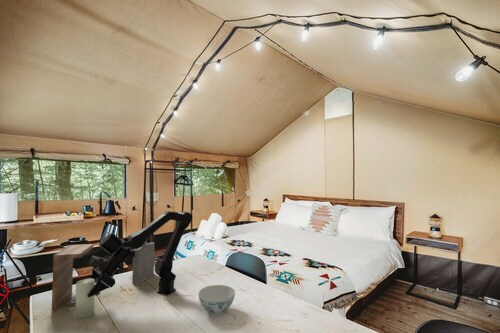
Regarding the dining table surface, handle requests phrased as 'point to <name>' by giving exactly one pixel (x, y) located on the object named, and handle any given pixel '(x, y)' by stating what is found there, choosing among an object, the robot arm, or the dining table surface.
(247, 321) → the dining table surface
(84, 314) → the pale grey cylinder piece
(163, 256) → the robot arm
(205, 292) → the chinaware
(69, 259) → the walnut overhang
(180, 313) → the dining table surface
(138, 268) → the hip flask
